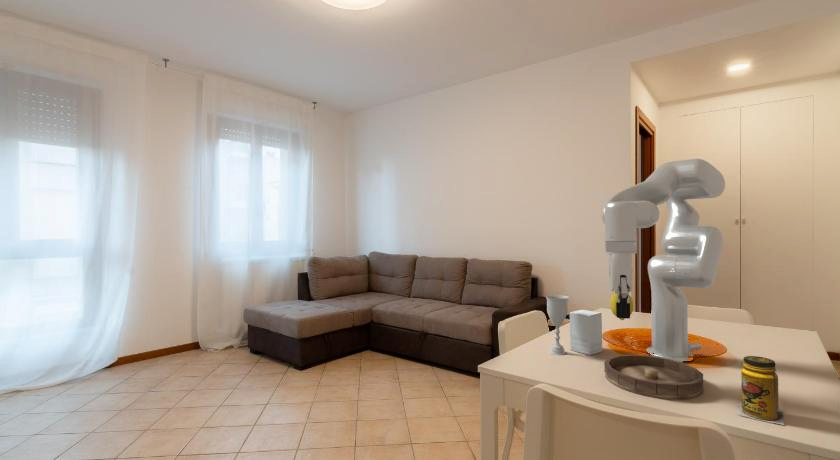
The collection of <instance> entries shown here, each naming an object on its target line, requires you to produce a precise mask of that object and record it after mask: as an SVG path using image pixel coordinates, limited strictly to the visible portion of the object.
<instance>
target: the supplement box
mask: <svg viewBox="0 0 840 460" xmlns="http://www.w3.org/2000/svg"><path fill="white" fill-rule="evenodd" d="M602 318H603V317H602V312H600V311H592V310H586V309H579V310H574V311H570V312H569V346H570V348H569V349H570V351H573V352H578V353H581V354H584V355H589V356H591V355H595V354H598V353H601V352H603V327H602V326H603V324H602V323H603V321H602Z"/></svg>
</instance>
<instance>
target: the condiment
mask: <svg viewBox="0 0 840 460" xmlns="http://www.w3.org/2000/svg"><path fill="white" fill-rule="evenodd" d="M742 365H743V368H742V369H741V373H740V374H741V385H740V386H741V389H740V390H741V401H739V406H738V416H742V417H746V418H749V419H753V420H757V421H762V422H766V423H772V424H776V425H777V424H778V425H782V426H785V419H784V413H783V409H779V407H780V406H779V375H778V374H777V369H776V361H774V360H773V359H771V358H768V357H764V356H756V355H746V356H744V357H743V364H742Z"/></svg>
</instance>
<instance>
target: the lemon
mask: <svg viewBox="0 0 840 460" xmlns="http://www.w3.org/2000/svg"><path fill="white" fill-rule="evenodd" d="M620 294H621V293H619V295H620ZM616 302H617V293H615V292H614V294H612V296H611V298H610V303H609V304H610V311H611V313H612V314H613V315H614V316H615V317H616ZM629 303H630V316H631V315H632V314H633V311H634V301H633V299H632V296H631V295H630V294H629ZM618 319H620V321H624V320H626V318H618Z"/></svg>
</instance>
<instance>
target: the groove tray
mask: <svg viewBox="0 0 840 460" xmlns="http://www.w3.org/2000/svg"><path fill="white" fill-rule="evenodd" d="M603 364H604V365H603V366H604V368H603V370H604V373H605V374H604V375H605V379H606V380H607V381H608V382H609V383H610V384H612V385H613V386H615V387H618V388H620V389H622V390H623V391H624V390H625V391H627V392H630V393H633V394H635V395H641V396H645V397H648V398H654V399H655V398H656V399H664V400H675V401H676V400H679V401H680V400H691V399H694V398H695V399H696V398H699V397H700V396H701V395H703V393H704V374H703V373H702V372H701V371H700V370H699V369H697V368H696V367H693V366H691V365H689V364H687V363H685V362H678V361H674V360H670V359H666V358H661V357H654V356H649V355H648V354H617V355H613V356H610V357H608V358H606V359H605V361H604V362H603Z"/></svg>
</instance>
